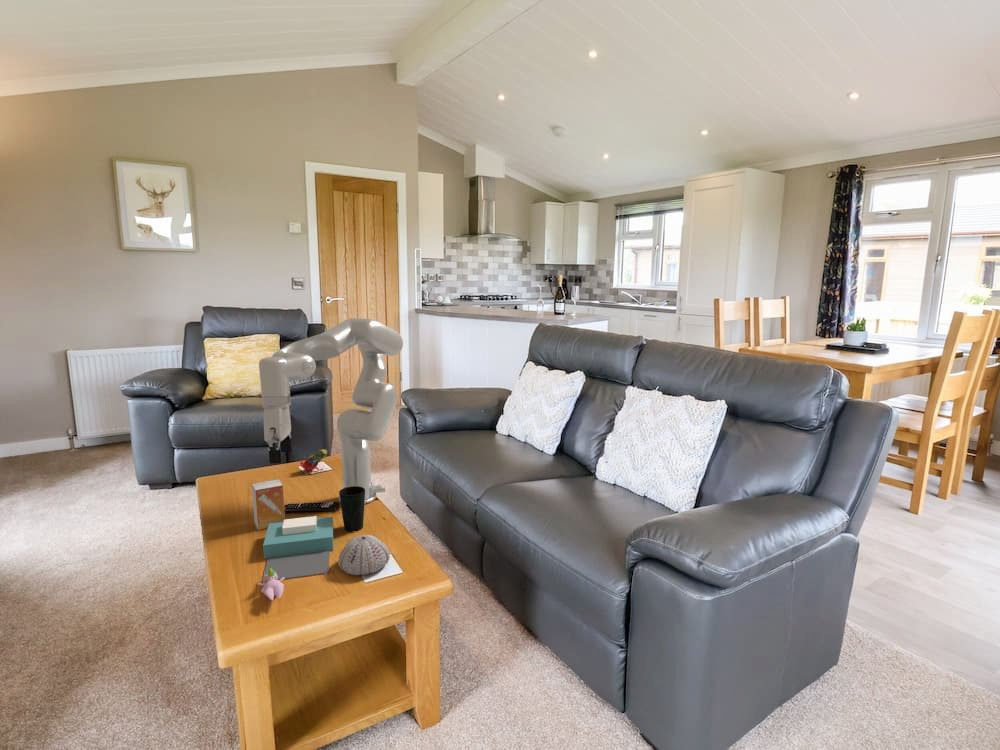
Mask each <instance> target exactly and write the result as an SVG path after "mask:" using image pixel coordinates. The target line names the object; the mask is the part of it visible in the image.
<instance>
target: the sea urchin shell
mask: <svg viewBox="0 0 1000 750" xmlns="http://www.w3.org/2000/svg"><path fill="white" fill-rule="evenodd" d="M390 557H391V556H390V551H389V548H388V546H387V545H386V544H385V543H384V542H383V541H382V540H381V539H380V538H378V536H374V535H371V534H363V535H357V536H355V537H352V538H351V539H349V541H348V542H347V543H346V544H345V546H344V547H343V548H342V549H341V551H340V552H339V556H338V558H337V559H338V562H337V563H338V567H340V570H342V571H343V572H345V573H346V574H347V575H348V574H349V575H352V576H360V575H362V576H364V575H368V574H370V573H371V574H373V573H376V572H377V571H381V569H383V568H384V566H386V565H387V564H388V563H389V561H390Z"/></svg>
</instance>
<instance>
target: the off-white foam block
mask: <svg viewBox="0 0 1000 750" xmlns="http://www.w3.org/2000/svg"><path fill="white" fill-rule="evenodd" d="M317 518H318V517H317V515H314V516H305V517H297V518H296V517H295V518H285V520H284V522H283V527H282V533H283V535H288V534H296V533H305V532H313V531H316V527H317Z"/></svg>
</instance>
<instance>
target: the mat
mask: <svg viewBox="0 0 1000 750" xmlns="http://www.w3.org/2000/svg"><path fill="white" fill-rule="evenodd" d="M264 568H265V569H264V571H263V575H264V574H265V575H267V574H268V572H269V569H270V568H271V569H272V570H273V571H274V570H275V572H276V574H277V575H278V580H280V579H282V578H283V577H285V579H284V580H291V579H296V578H297V579H298V578H304V577H312V576H319V575H320V576H321V575H326V574H329V573H330V551H322V552H314V553H306V554H298V555H290V556H282V557H275V558H268V559H267V560H266V565H265V567H264ZM261 582H262V583H263V579H262V581H261Z"/></svg>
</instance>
